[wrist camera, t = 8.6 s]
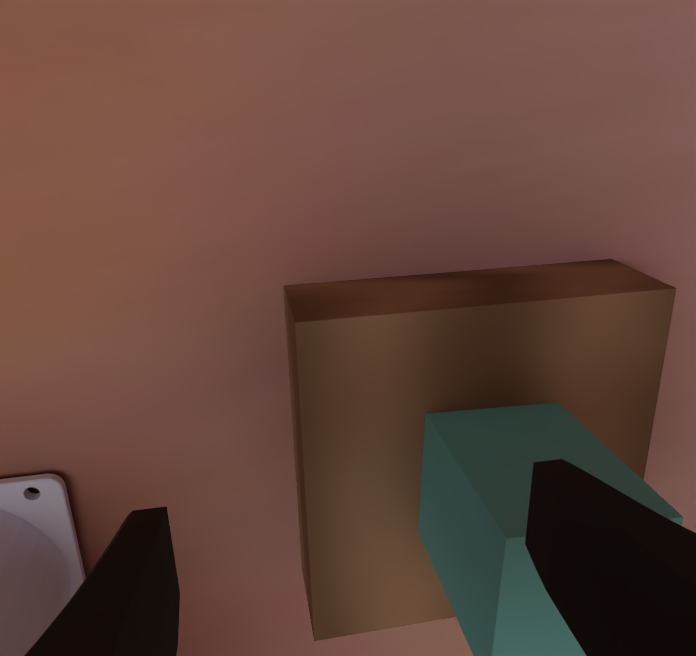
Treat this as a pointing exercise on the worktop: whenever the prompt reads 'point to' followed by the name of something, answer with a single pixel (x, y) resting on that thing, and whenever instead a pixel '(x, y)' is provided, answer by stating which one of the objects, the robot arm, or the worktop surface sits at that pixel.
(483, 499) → the teal block
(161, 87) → the worktop surface
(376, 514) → the walnut base
